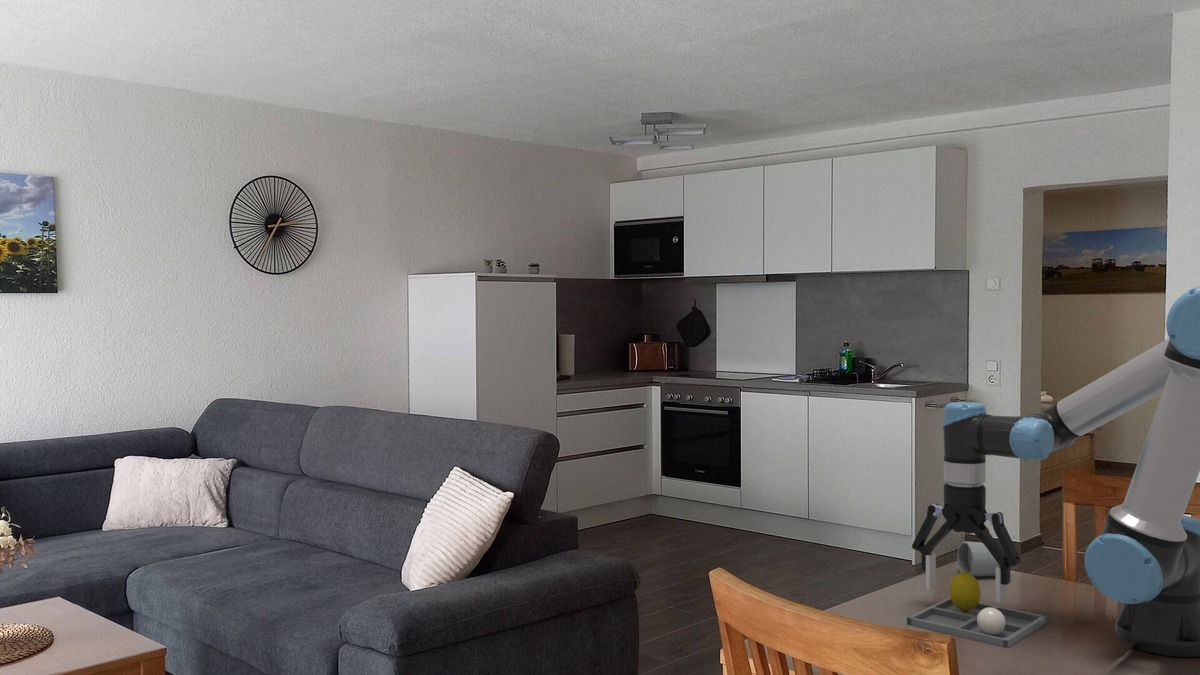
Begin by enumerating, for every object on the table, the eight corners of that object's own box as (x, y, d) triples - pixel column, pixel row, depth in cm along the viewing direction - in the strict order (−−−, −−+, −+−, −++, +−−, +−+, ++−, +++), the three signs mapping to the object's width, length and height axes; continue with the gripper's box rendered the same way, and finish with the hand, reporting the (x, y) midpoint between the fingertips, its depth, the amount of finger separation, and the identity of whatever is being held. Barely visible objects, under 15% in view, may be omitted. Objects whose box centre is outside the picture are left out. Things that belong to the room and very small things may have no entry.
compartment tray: (1046, 628, 179) (1046, 616, 179) (1007, 653, 165) (1007, 640, 165) (950, 607, 191) (950, 596, 191) (907, 629, 178) (907, 617, 178)
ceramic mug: (1007, 579, 211) (1007, 544, 211) (972, 580, 211) (972, 545, 210) (983, 567, 222) (983, 534, 222) (949, 569, 221) (949, 535, 221)
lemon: (983, 617, 181) (982, 575, 181) (952, 616, 182) (951, 574, 182) (977, 609, 187) (977, 568, 187) (947, 608, 188) (947, 567, 188)
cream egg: (1009, 634, 172) (1010, 607, 172) (999, 641, 169) (999, 613, 169) (983, 628, 176) (983, 602, 176) (972, 634, 172) (972, 608, 172)
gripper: (1039, 488, 178) (1039, 602, 178) (912, 474, 195) (912, 578, 196) (1023, 493, 173) (1024, 611, 173) (894, 478, 190) (894, 586, 190)
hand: (964, 594), depth 184 cm, fingers open, 13 cm apart
